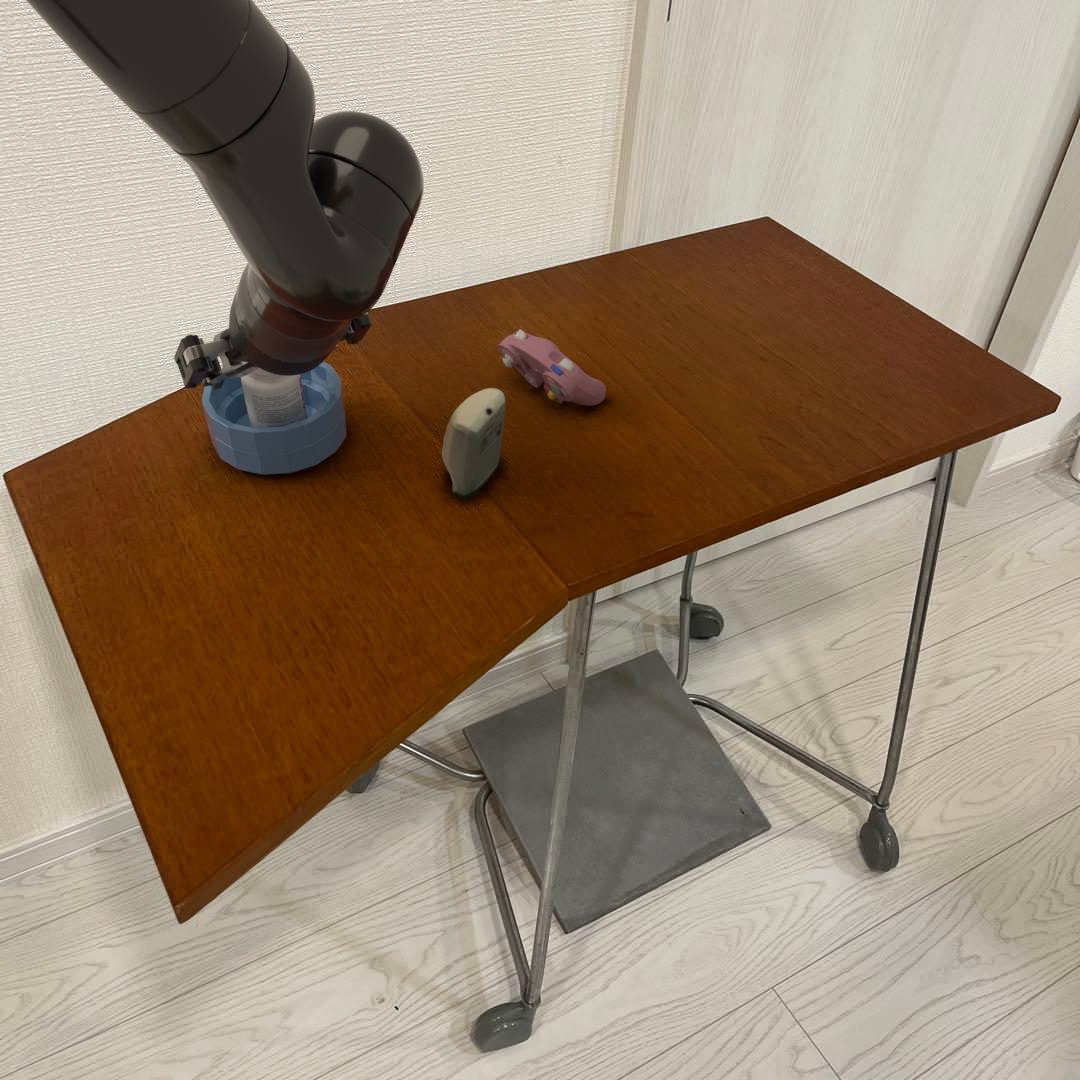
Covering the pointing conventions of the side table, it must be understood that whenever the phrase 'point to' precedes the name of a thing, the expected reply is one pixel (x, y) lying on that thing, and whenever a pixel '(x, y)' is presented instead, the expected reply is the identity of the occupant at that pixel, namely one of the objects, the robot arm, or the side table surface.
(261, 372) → the pill bottle
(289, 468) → the bowl
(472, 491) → the cream rounded block
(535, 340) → the video game controller
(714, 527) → the side table surface
